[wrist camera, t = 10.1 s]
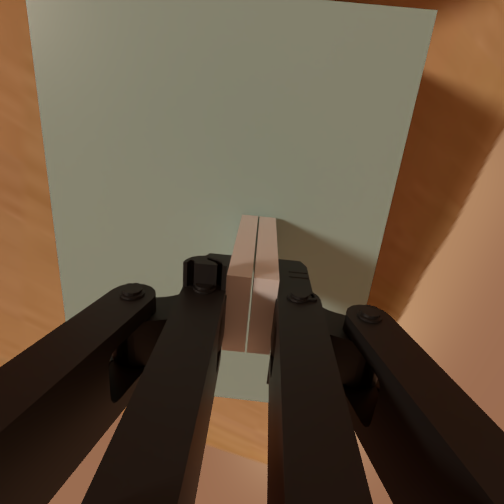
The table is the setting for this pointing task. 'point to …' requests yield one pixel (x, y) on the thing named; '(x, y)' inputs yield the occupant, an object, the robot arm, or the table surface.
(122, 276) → the lid
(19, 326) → the table surface
